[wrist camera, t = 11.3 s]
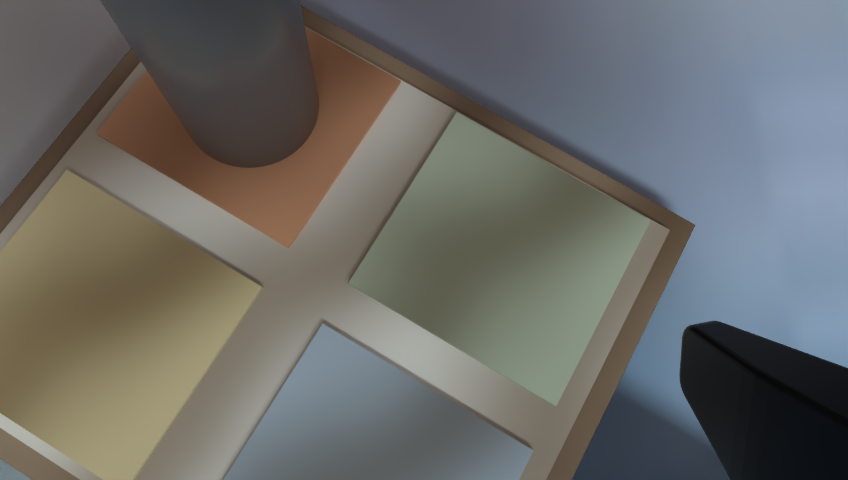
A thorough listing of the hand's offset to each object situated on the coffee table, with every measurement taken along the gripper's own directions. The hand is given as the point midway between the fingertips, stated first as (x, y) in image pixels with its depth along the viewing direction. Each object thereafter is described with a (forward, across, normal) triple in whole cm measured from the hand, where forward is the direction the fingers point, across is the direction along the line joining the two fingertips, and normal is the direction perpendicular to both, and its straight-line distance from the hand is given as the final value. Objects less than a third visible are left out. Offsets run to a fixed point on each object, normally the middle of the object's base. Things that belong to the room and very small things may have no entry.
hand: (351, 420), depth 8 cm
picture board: (+9, +1, +3) cm, 10 cm away
